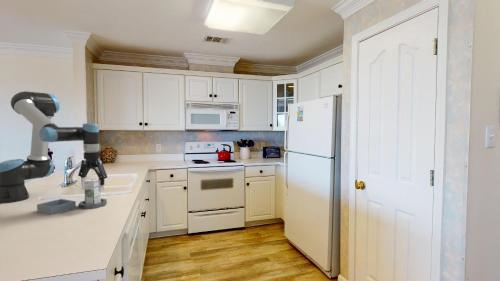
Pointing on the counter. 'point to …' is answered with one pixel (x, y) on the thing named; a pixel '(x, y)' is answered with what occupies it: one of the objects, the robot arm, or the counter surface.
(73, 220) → the counter surface
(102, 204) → the collar
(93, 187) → the syrup box
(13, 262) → the counter surface
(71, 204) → the tray
